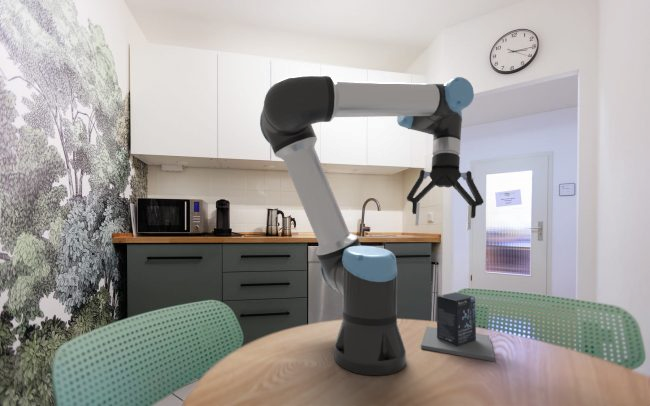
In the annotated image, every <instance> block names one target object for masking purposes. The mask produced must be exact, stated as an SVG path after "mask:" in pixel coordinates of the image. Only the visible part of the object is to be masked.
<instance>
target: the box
mask: <svg viewBox="0 0 650 406" xmlns="http://www.w3.org/2000/svg"><path fill="white" fill-rule="evenodd" d="M476 318H477V317H476V296H473V295H469V294H464V293H460V292H451V293H445V294H441V295H440V294H439V295H437V296H436V320H437V321H436V328H437V339H439V340H442V341H444V342H447V343H449V344H452V345H454V346H459V345H461V344H464V343H467V342H470V341H473V340H476V334H477V326H476V325H477V324H476Z"/></svg>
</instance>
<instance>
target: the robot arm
mask: <svg viewBox="0 0 650 406" xmlns="http://www.w3.org/2000/svg"><path fill="white" fill-rule="evenodd" d="M474 92H475V91H474V88H473V85H472V83H471V82H470V81H469V80H468V79H467V78H464V77H463V76H462V77H461V76H457V77H454V78H452V79H449V80H447V81H446V82H445V83H419V82H418V83H412V82H411V83H410V82H409V83H408V82H407V83H406V82H377V81H376V82H375V81H346V80H345V81H344V80H343V81H342V80H341V81H340V80H339V81H338V80H335V79H334V78H333V77H332V76H331V75H315V74H314V75H298V76H291V77H286V78H284V79H281V80H279V81H277V82H276V83H274V84H273V85H272V86H270V88H269V89H268V91H267V92H266V95H265V96H264V101H263V107H262V111H261V113H260V119H259V126H260V130H261V133H262V136H263V137H264V139H265V140H266V141H267V143H269V145H270V146H271V149H272V152H273V155H274V156H275V157H277V158H278V159H281V160H283V162H284V164H285V167H286V170H287V173H288V175H289V176H290V179H291V182H292V183H293V186H294V189H295V191H296V193H297V195H298V198H299V200H300V202H301V205H302V207H303V208H302V209H304V212H305V214H306V215H305V216H306V217H307V220H308V222H309V225H310V226H311V229H312V231H313V234H314V237H315V238H316V241H317V243H318V244H317V245H318V248H317V249H316V252H315V253H316V256H317V259H318V261H319V263H320V272H321V276H322V279H323V281H324V282H325V283H326V284H327V286H328V287H329V288H331V289H332V290H334V291H335V292H338V293H339V294H340V295H341V296H342V321H341V324H340V328H339V329H338V330H339V331H338V334H337V336H336V337H337V338H336V340H335V343H334V348H333V349H334V350H333V351H334V352H333V353H334V354H333V357H334V361H335V363H337V364H338V366H340V367H342V368H343V369H344V370H347V371H350V372H352V373H355V374H360V375H366V376H367V375H368V376H385V375H392V374H395V373H398V372H399V371H401V370H403V368H405V366H406V364H407V363H406V362H407V351H406V347H405V345H404V340H403V338H402V335H401V332H400V328H399V325H398V271H399V270H398V264H397V258H396V255H395V254H394V252H392V251H390V250H388V249H387V248H383V247H377V246H376V247H375V246H370V245H361V242H360V239H359V238H358V235H356V234H353V233H351V232H350V231H349V229H348V226H347V224H346V221H345V218H344V217H343V214H342V212H341V209H340V207H339V204H338V202H337V200H336V197H335V194H334V192H333V190H332V187H331V185H330V182H329V180H328V177H327V175H326V172H325V170H324V168H323V165H322V163H321V161H320V157H319V156H318V153H317V151H316V148H315V146H316V143H317V140H318V138H317V135H316V133H315V131H314V128H313V126H312V125H314V124H317V123H328V122H329V123H330V122H331V121H332V120H333V119H334V118H360V117H361V118H365V117H367V118H368V117H372V118H373V117H378V118H379V117H396V122H397V124H398V125H399V126H400V127H403V128H406V129H407V130H413V131H417V132H420V133H425V134H428V135H432V136H433V139H432V140H433V141H432V159H431V170H430V171H425V170H424V169H421V170H420V173H419V177H418V179H417V180H416V182H415V183H414V185H413V187H412V188H411V190H410V191H409V193H408V194H407V196H406V200H407V202H410V203H412V208H411V213H412V215H415V224H414V225H415V227H419V222H420V208H421V207H420V206H421V203H420V201H421V200H422V199H423V198H424V197H425V196H426V195H427V194H429V192H430V191H431V190H432V189H433V188H434V187H436V186H437V187H438V188H453V189H455V190H456V192H457V193H458V194H459V195H460V196H461V197H462V198H463V199H464V200H465V202H466V203H467V204H468V206H467V208H466V210H467V211H466V225H465V226H466V227H465V228H466V229H465V230H466V231H470V230H471V226H472V219H475V217H476V213H477V212H476V211H477V207H478V206H482V205H483V204H484V199H483V197H482V195H481V193H480V192H479V189H478V187H477V186H476V183H475V182H474V179H473V178H472V176H473V175H472V172H471V171H470V170H468V171H466V172H461V171H460V163H461V161H460V159H461V157H460V156H461V155H460V154H461V137H462V136H461V135H462V123H463V115H462V111H463V110H464V109H465V108H468V107H469V106H470V105H471V104H472V102H473V100H474V95H475V94H474ZM427 177H429V178H430V179H431V181H430V182H429V183H428V184H427V185H426V186H425V187H424V188H423V189H421V191H420V192H419V193H418V194H417V195H416V193H417V192H418V190H419V189H420V187H421V185H422V183H423V181H424V180H426V179H427ZM461 178H462V179H463V181H465V182H466V185H467V187H468V188H469V190H470V193H471V194H472V196H473V197H472V196H471V195H470V194H469V193H468V191H466V189H465V188H464V187H463V186H462V184H461V183H460V182H459V180H460V179H461ZM415 195H416V196H415ZM414 196H415V197H414Z"/></svg>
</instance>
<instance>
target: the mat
mask: <svg viewBox="0 0 650 406" xmlns="http://www.w3.org/2000/svg"><path fill="white" fill-rule="evenodd" d="M420 347H421V348H420V349H421V350H426V351H432V352H439V353H445V354H449V355H454V356H455V355H456V356H462V357H468V358H472V359H473V358H474V359H479V360H484V361H489V362H490V361H491V362H496V356H495V353H494V352H495V351H494V349H493V344H492V342H491V339H490V335H488V334H484V333H483V334H482V333H476V340H473V341H470V342H467V343H464V344H461V345H459V346H454V345H452V344H449V343H447V342H444V341H442V340H439V339H437V327H433V326H426V328H425V331H424V335H423V338H422V341H421V344H420Z"/></svg>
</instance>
